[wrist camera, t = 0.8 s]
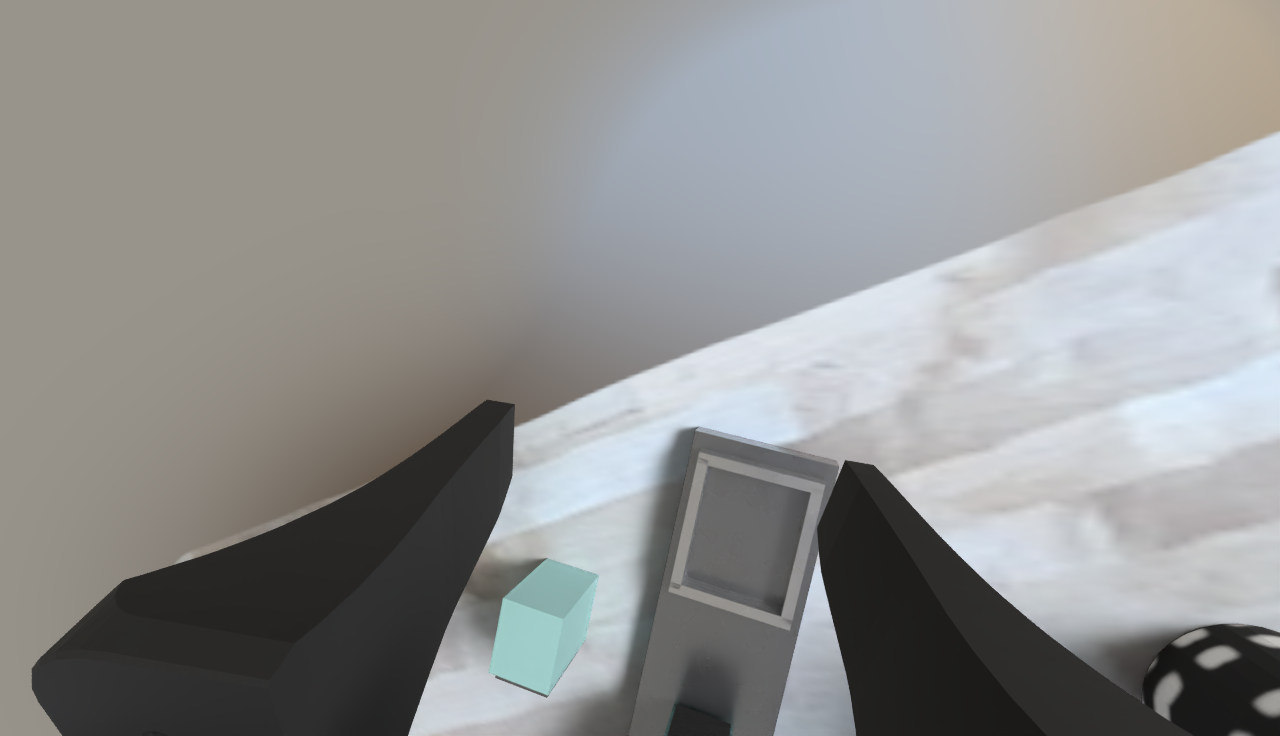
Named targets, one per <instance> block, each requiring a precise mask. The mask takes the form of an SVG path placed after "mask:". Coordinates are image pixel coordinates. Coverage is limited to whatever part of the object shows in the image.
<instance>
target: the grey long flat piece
mask: <svg viewBox="0 0 1280 736" xmlns="http://www.w3.org/2000/svg"><path fill="white" fill-rule="evenodd" d="M838 469H839V465H838V463H837V461H834V460H830V459H826V458H822V457H818V456H814V455H810V454H806V453H802V452H798V451H794V450H790V449H786V448H782V447H778V446H774V445H770V444H766V443H762V442H758V441H754V440H750V439H746V438H742V437H738V436H734V435H730V434H726V433H722V432H718V431H714V430H710V429H706V428H702V427H698V428H697V429H696V430H695V435H694V439H693V444H692V448H691V453H690V457H689V462H688V467H687V471H686V476H685V480H684V485H683V489H682V494H681V498H680V503H679V508H678V512H677V517H676V521H675V526H674V530H673V535H672V539H671V544H670V549H669V553H668V558H667V562H666V567H665V571H664V576H663V580H662V585H661V590H660V594H659V599H658V603H657V608H656V612H655V617H654V621H653V626H652V631H651V635H650V640H649V644H648V649H647V653H646V658H645V662H644V667H643V672H642V676H641V681H640V685H639V690H638V694H637V699H636V703H635V708H634V713H633V717H632V722H631V726H630V731H629V735H628V736H773V734H774V730H775V726H776V722H777V718H778V714H779V710H780V705H781V701H782V697H783V693H784V689H785V685H786V681H787V677H788V673H789V669H790V665H791V661H792V657H793V652H794V648H795V644H796V640H797V636H798V632H799V628H800V624H801V620H802V616H803V612H804V608H805V604H806V600H807V595H808V591H809V587H810V583H811V579H812V575H813V571H814V567H815V563H816V559H817V555H818V551H819V547H818V536H817V527H818V524H819V522H820V519H821V517H822V515H823V512H824V510H825V507H826V505H827V503H828V500H829V498H830V495H831V493H832V491H833V488H834V485H835V481H836V477H837V473H838Z"/></svg>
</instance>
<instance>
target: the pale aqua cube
mask: <svg viewBox="0 0 1280 736" xmlns="http://www.w3.org/2000/svg"><path fill="white" fill-rule="evenodd" d="M598 576H599V575H597V574H594V573H591V572H588V571H585V570H582V569H579V568H576V567H572V566H569V565H566V564H563V563H560V562H557V561H554V560H551V559H548V558H547V559H546V560H545V561H543V562H542V563H541V564H540V565H539V566H538V567H537V568H536V569H535V570H533V571H532V572H531V573H530V574H529V575H528V576H527V577H526V578H525V579H524V580H522V581H521V582H520V583H519V584H518V585H517V586H516V587H515V588H514V589H513V590H511V591H510V592H509V593H508V594H507V595H506V596H505V597H504V598H503V601H502V606H501V611H500V617H499V622H498V627H497V632H496V637H495V642H494V648H493V653H492V658H491V663H490V668H489V673H491V674H494V675H496V676H495V678H497V679H500V680H502V681H505V682H508V683H510V684H513V685H515V686H518V687H521V688H523V689H526V690H528V691H531V692H533V693H536V694H539V695H541V696H544V697H546V698H547V697H548V695H549V694H550V692H551V691H552V689H553V688H554V686H555V685H556V683H557V682H558V680H559V679H560V677H561V676H562V674H563V673H564V671H565V670H566V668H567V667H568V665H569V664H570V662H571V661H572V659H573V658H574V656H575V655H576V653H577V652H578V650H579V648H580V647H581V645H582V644H583V642H584V641H585V639H586V634H587V629H588V624H589V619H590V615H591V610H592V605H593V600H594V595H595V591H596V586H597V581H598Z"/></svg>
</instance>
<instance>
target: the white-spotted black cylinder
mask: <svg viewBox="0 0 1280 736" xmlns="http://www.w3.org/2000/svg"><path fill="white" fill-rule="evenodd" d="M1142 703H1143V704H1145V705H1146V706H1148V707H1149V708H1151V709H1152V710H1154V711H1155V712H1157V713H1158V714H1160V715H1161V716H1163V717H1164V718H1166V719H1168V720H1169V721H1171V722H1172V723H1174V724H1175V725H1177V726H1179V727H1180V728H1182V729H1184V730H1185V731H1187V732H1189V733H1190V734H1192V735H1193V736H1280V633H1279V632H1276V631H1273V630H1269V629H1266V628H1263V627H1257V626H1250V625H1243V624H1227V625H1217V626H1211V627H1205V628H1201V629H1198V630H1196V631H1193V632H1190V633H1187V634H1185V635H1183V636H1182V637H1180V638H1178V639H1177V640H1175V641H1173V642H1171V643H1170V644H1169V645H1168V646H1167V647H1166V648H1165V649H1163V650H1162V651H1161V652H1160V653H1159V654H1158V655H1157V657H1156V658H1155V660H1154V661H1153V663H1152V664H1151V666H1150V667H1149V669H1148V672H1147V675H1146V677H1145V680H1144V684H1143V692H1142Z"/></svg>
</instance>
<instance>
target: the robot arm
mask: <svg viewBox="0 0 1280 736" xmlns="http://www.w3.org/2000/svg"><path fill="white" fill-rule="evenodd" d="M514 409H515V405H514V404H509V403H504V402H498V401H492V400H486V401H484V402H483V403H482V404H480V405H479V406H478V407H476V408H475V409H474V410H472V411H471V412H470V413H468V414H467V415H466V416H465V417H464V418H462V419H461V420H459V422H457V423H456V424H454V425H453V426H452V427H450V428H449V429H448V430H447V431H445V432H444V433H442V434H441V435H440V436H438V437H437V438H436V439H434V440H433V441H432V442H430V443H429V444H427V445H426V446H425V447H423V448H422V449H421V450H419V451H418V452H416V453H415V454H413V455H412V456H411V457H409V458H407V459H406V460H404V461H403V462H401V463H400V464H398V465H397V466H395V467H394V468H392V469H390V470H389V471H388V472H386V473H384V474H383V475H381V476H380V477H378V478H376V479H375V480H373V481H371V482H370V483H368V484H366V485H364V486H363V487H361V488H359V489H357V490H355V491H353V492H352V493H350V494H348V495H346V496H344V497H342V498H340V499H338V500H337V501H335V502H333V503H331V504H329V505H326V506H324V507H322V508H320V509H318V510H316V511H313V512H311V513H309V514H307V515H305V516H302V517H300V518H298V519H296V520H294V521H292V522H289V523H287V524H285V525H283V526H281V527H278V528H276V529H273V530H271V531H268V532H266V533H263V534H261V535H258V536H256V537H253V538H251V539H248V540H246V541H243V542H240V543H237V544H235V545H232V546H229V547H227V548H224V549H221V550H218V551H216V552H213V553H210V554H207V555H204V556H201V557H198V558H195V559H192V560H188V561H185V562H182V563H179V564H176V565H172V566H169V567H166V568H163V569H159V570H156V571H153V572H150V573H147V574H144V575H140V576H137V577H133V578H130V579H126V580H124V581H122V582H121V583H120V584H119V585H118V586H117V587H116V588H114V589H113V590H112V591H111V592H110V593H109V594H108V595H107V596H106V597H105V598H104V599H102V600H101V601H100V602H99V603H98V604H97V605H96V606H95V607H94V608H93V609H92V610H91V611H90V612H89V613H88V614H86V615H85V616H84V617H83V618H82V619H81V620H80V621H79V622H78V623H77V624H76V625H75V626H74V627H73V628H71V629H70V630H69V631H68V632H67V633H66V634H65V635H64V636H63V637H62V638H61V639H60V640H59V641H58V642H57V643H56V644H54V645H53V646H52V647H51V648H50V649H49V650H48V651H47V652H46V653H45V654H44V655H43V656H42V657H41V658H40V659H39V660H38V661H37V663H36V664H35V665H34V667H33V668H32V690H33V692H34V694H35V696H36V698H37V700H38V702H39V703H40V705H41V706H42V708H43V709H44V710H45V712H46V713H47V715H48V716H49V717H50V719H51V720H52V722H53V723H54V724H55V726H56V727H57V729H58V730H59V731H60V733H61V734H62V736H408V734H409V731H410V728H411V725H412V722H413V719H414V716H415V713H416V711H417V708H418V705H419V702H420V699H421V696H422V694H423V691H424V688H425V685H426V682H427V679H428V677H429V674H430V671H431V668H432V666H433V663H434V660H435V657H436V655H437V652H438V649H439V647H440V644H441V641H442V638H443V636H444V633H445V630H446V628H447V625H448V623H449V621H450V618H451V616H452V614H453V611H454V609H455V607H456V605H457V603H458V600H459V598H460V596H461V594H462V592H463V590H464V588H465V586H466V584H467V582H468V580H469V578H470V576H471V574H472V572H473V570H474V567H475V565H476V563H477V561H478V559H479V557H480V555H481V553H482V551H483V549H484V547H485V545H486V543H487V541H488V538H489V536H490V534H491V532H492V530H493V528H494V526H495V524H496V522H497V519H498V517H499V515H500V512H501V509H502V506H503V503H504V500H505V497H506V494H507V491H508V488H509V485H510V482H511V479H512V469H513V440H514ZM817 536H818V547H819V557H820V565H821V573H822V577H823V582H824V586H825V590H826V594H827V598H828V602H829V607H830V611H831V615H832V619H833V623H834V627H835V631H836V635H837V639H838V643H839V647H840V651H841V655H842V659H843V663H844V667H845V671H846V675H847V680H848V685H849V690H850V695H851V701H852V708H853V715H854V722H855V729H856V736H1193V735H1192V734H1190V733H1189V732H1187V731H1185V730H1184V729H1182V728H1180V727H1179V726H1177V725H1175V724H1174V723H1172V722H1171V721H1169V720H1168V719H1166V718H1164V717H1163V716H1161V715H1160V714H1158V713H1157V712H1155V711H1154V710H1152V709H1151V708H1149V707H1148V706H1146V705H1145V704H1143V703H1142V702H1140V701H1139V700H1137V699H1136V698H1134V697H1133V696H1131V695H1130V694H1128V693H1127V692H1125V691H1124V690H1122V689H1121V688H1120V687H1118V686H1117V685H1115V684H1114V683H1112V682H1111V681H1110V680H1108V679H1107V678H1105V677H1104V676H1102V675H1101V674H1100V673H1098V672H1097V671H1095V670H1094V669H1093V668H1091V667H1090V666H1089V665H1087V664H1086V663H1085V662H1083V661H1082V660H1081V659H1079V658H1078V657H1077V656H1075V655H1074V654H1073V653H1071V652H1070V651H1069V650H1067V649H1066V648H1065V647H1063V646H1062V645H1061V644H1059V643H1058V642H1057V641H1055V640H1054V639H1053V638H1052V637H1050V636H1049V635H1048V634H1046V633H1045V632H1044V631H1043V630H1041V629H1040V628H1039V627H1038V626H1036V625H1035V624H1034V623H1033V622H1032V621H1030V620H1029V619H1028V618H1027V617H1026V616H1025V615H1023V614H1022V613H1021V612H1020V611H1019V610H1018V609H1016V608H1015V607H1014V606H1013V605H1012V604H1010V603H1009V602H1008V601H1007V600H1006V599H1005V598H1003V597H1002V596H1001V595H1000V594H999V593H998V592H997V591H996V590H994V589H993V588H992V587H991V586H990V585H989V584H988V583H987V582H986V581H985V580H984V579H983V578H982V577H980V576H979V575H978V574H977V573H976V572H975V571H974V570H973V569H972V568H971V567H970V566H969V565H968V564H967V563H966V562H965V561H964V560H963V559H962V558H961V557H960V556H959V555H958V554H957V553H956V552H955V551H954V550H953V549H952V548H951V547H950V546H949V545H948V544H947V543H946V542H945V541H944V540H943V539H942V538H941V537H940V536H939V535H938V534H937V533H936V532H935V530H934V529H933V528H932V527H931V526H930V525H929V524H928V523H927V522H926V521H925V520H924V519H923V518H922V517H921V515H920V514H919V513H918V512H917V511H916V510H915V509H914V508H913V507H912V506H911V505H910V503H909V502H908V501H907V500H906V499H905V498H904V497H903V496H902V495H901V494H900V492H899V491H898V490H897V489H896V488H895V487H894V486H893V485H892V484H891V483H890V482H889V480H888V479H887V478H886V477H885V476H884V475H883V474H882V473H881V472H880V471H879V470H878V469H877V468H876V467H875V466H874V465H870V464H864V463H858V462H853V461H847V460H845V462H844V464H843V467H842V469H841V472H840V474H839V476H838V479H837V481H836V483H835V486H834V488H833V491H832V493H831V495H830V498H829V500H828V503H827V505H826V507H825V510H824V512H823V515H822V517H821V519H820V522H819V524H818V527H817Z"/></svg>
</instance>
